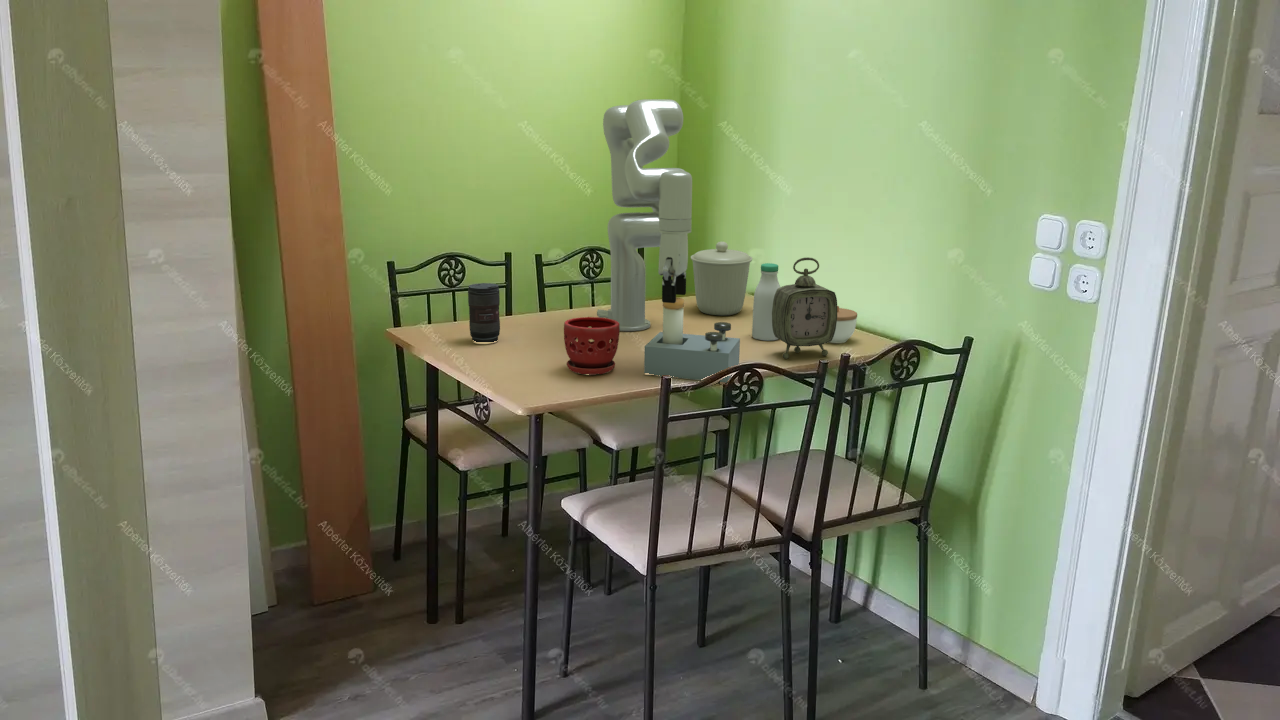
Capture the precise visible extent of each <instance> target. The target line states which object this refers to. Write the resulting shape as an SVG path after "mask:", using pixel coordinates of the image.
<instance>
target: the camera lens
mask: <svg viewBox="0 0 1280 720" xmlns="http://www.w3.org/2000/svg"><path fill="white" fill-rule="evenodd" d="M499 288H500V287H499V285H498V284H496V283H490V282H488V283H486V282H484V283H483V282H481V283H473V284H470V285H469V284H468V289H467V301H468V316H469V319H468V320H469V333H470V337H471V341H472V340H474V341H476V342H494V341H497V340H498V341H499V336H500V330H501V320H500V299H501V298H500V289H499ZM498 341H497V342H498Z"/></svg>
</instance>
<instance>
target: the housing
mask: <svg viewBox="0 0 1280 720" xmlns="http://www.w3.org/2000/svg"><path fill="white" fill-rule="evenodd" d="M740 346H741V338H738V337H728V336H726V339H725V341H723V340H721V341H717V351H710V341H707V340H705V335H704V334H702V335H701V334H693V333H691V334H690V333H683V345H676V344H665V343H663V331H660V332H658V333H657V334H656V335H655V336H654V337H653V338H652V339H651V340H649V341H648V342H647V343H646V344H645V345H644V351H643V352H644V361H643V365H644V366H643V367H644V368H643V370H644V373H649V374H654V375H658V376H657V377H662V375H670V376H672V377H671V378H672V379H673V376H674V377H678V378H677V379H684V380H685V379H686V380H695V381H702V380H701V379H703V378H705V377H707V376H710V375H712V374H715V373H717V372H719V371H721V370H724V369H726V368H728V367H731V366H734V365H738V364H739V365H740V349H741V348H740ZM644 373H643V374H644ZM659 375H660V376H659ZM730 377H731V376H727V377H725V378H723V379H722V380H720V382H719V383H725V384H726V383H727V381H728V380H729V378H730ZM731 378H732V377H731ZM729 381H730V380H729Z"/></svg>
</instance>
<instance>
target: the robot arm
mask: <svg viewBox="0 0 1280 720" xmlns="http://www.w3.org/2000/svg"><path fill="white" fill-rule="evenodd" d="M683 125H684V113H683V109H682V106H681V105H680V104H679V103H678V102H677V101H676V100H674V99H668V98H667V99H666V98H665V99H658V98H657V99H653V98H652V99H650V98H647V99H638V100H635V101H633V102H631V103H630V104H623V105H615V106H612V107H611V106H610V107H609V108H608V109H606V111H605V112H604V113H603V118H602V127H603V133H604V134H603V135H604V137H605V138H604V139H605V142H606V144H607V147H608V150H609V154H610V166H611V167H610V169H611V170H610V171H611V194H612V195H611V196H612V200H613V201H612V202H613V203H614V205H616V206H617V207H620V208H627V209H628V208H651V209H652V212H651V211H650V212H649V211H648V212H646V211H644V212H622V213H617V214H614V215H613V216H611V217H610V218H609V220H608V222H607V235H608V236H607V237H608V242H609V250H610V308H608V310H605V309H597V311H596V317H600V318H608V319H612V320H615V321H617V322H619V324H620V330H619V332H636V331H637V332H639V331H644V330H647V329H649V328H651V321H650V320H649V319H646V263H645V260H644V258H643V257H642V256H641V255H640V254H639V252H638V251H637V249H642V248H659V253H658V275H660V276H662V281H661V302H662V303H663V302H665V303H675V302H676V297H677V296H685V295H686V294H687V270H688V264H689V263H688V262H689V241H688V239H689V238H688V234H690V233H692V222H693V221H692V210H693V209H692V208H693V207H692V206H693V204H692V203H693V176H692V174H691V173H690V172H688V171H686V170H685V169H682V168H680V167H646V168H644V166H646V165H648V164H650V163H653V162H655V161H658V159H661V158H662V157H663V156H664V155H665V154H666V153H667V152H668V151H669V148H670V139H669V137H671V136H675V135H677V134H678V133H680V131H681V129H682V128H683Z"/></svg>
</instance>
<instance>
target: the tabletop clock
mask: <svg viewBox="0 0 1280 720" xmlns="http://www.w3.org/2000/svg"><path fill="white" fill-rule="evenodd" d="M804 261H812V262H814V263H815V264H816V265H817V267H816V268H815V269H813V270H811V271H810V270H809V269H808V268H804V269H803V271H800V270H797V269H796V265H797V264H799V263H800V262H804ZM792 269H793V271H794V272H795V273H796V274H798V275H799V276H798V277H797V278H796V279H795V282H794V283H792V284H786V285H783V286H780V288H778V289H777V291H776V293H775V296H774V300H773V308H772V328H773V333H774V335H775V337H777V338H778V340H780V341H782V342H783V343H785V344H786V348H785V352H784V353H783V354H782V357H783V359H784V360H786V359H789V358H790V354H789V350H790V348H791V347H794V349H793V351H794V352H795V353H796V354H799V353H800V352H801V347H813V346H819V347H820V349H821V355H822V356H823V357H825V356H826V357H827V356H828V354H829V351H828V350H827V349H825V348H824V345H825V344H828V343H829V342H830V341H832V339H833V337H834V334H835V330H836V323H837V306H838V299H837V294H836V292H835V291H833V290H831V289H828V288H825V286H821V285H819V284H816V280H815V279H814V277H812V276H811V275H812V274H814V273H816V272H817V271H818V270H819V269H820V262H819V261H818V260H817V259H816V258H813V257H807V256H806V257H802V258H799V259H797V260H796V261H795V262H793V266H792Z"/></svg>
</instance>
